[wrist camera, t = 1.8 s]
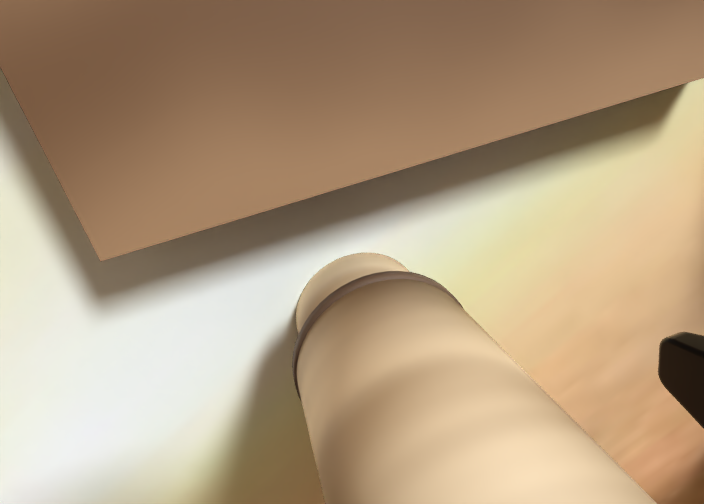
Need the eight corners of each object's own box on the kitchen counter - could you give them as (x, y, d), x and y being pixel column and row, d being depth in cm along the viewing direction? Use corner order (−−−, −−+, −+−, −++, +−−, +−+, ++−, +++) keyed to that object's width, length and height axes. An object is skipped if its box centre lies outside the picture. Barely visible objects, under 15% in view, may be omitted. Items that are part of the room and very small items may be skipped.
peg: (441, 348, 13) (696, 674, 6) (306, 398, 13) (411, 821, 6) (418, 218, 12) (728, 458, 4) (261, 269, 11) (325, 637, 4)
